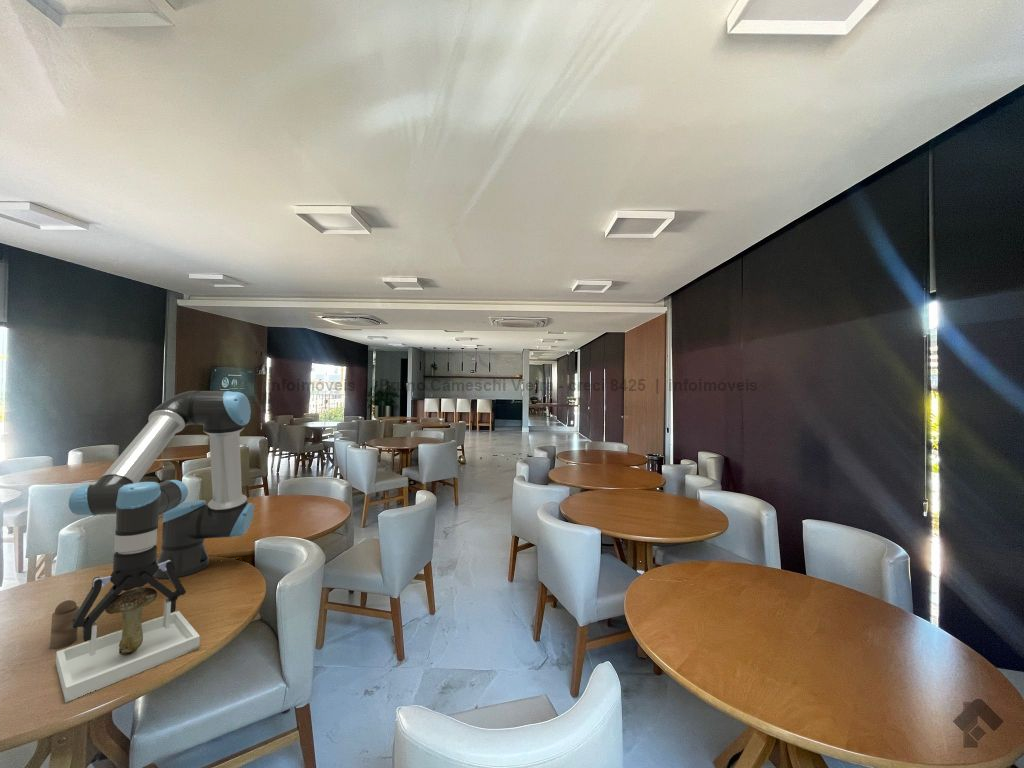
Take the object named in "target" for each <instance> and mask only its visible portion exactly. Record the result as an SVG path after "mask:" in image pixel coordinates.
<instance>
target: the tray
mask: <svg viewBox="0 0 1024 768" xmlns="http://www.w3.org/2000/svg"><path fill="white" fill-rule="evenodd" d="M142 632H143V641H142V644H141V645H140V647H139V648H137V650H136V651H135V652H133V653H132V654H130V655H120V654H119V648H120V647H119V644H120V641H121V639H122V629H120V630H117V631H114V632H111V633H108V634H105V635H101V636H99V637H96V653H95V655H92V656H90V653H89V641H86V642H85V641H84V642H81V643H78V644H75V645H71V646H68V647H66V648H64V649H63V648H62V649H61V650H60V649H59V650H57V651H56V654H55V655H56V656H55V666H56V672H57V676H58V678H59V679H58V680H59V685H60V687H61V692H62V695H63V700H64V703H65V704H67V703H68V702H71V701H73V700H77V699H78V697H79V698H82V697H83V695H84V696H86V695H88V694H87V693H89V694H91V693H93V692H96V691H98V690H100V689H103V688H105V687H109V686H110V685H113V684H115V683H118V682H120V681H123V680H125V679H128V678H130V677H133V676H134V675H136V674H137V675H138V674H139V673H142V672H145V671H147V670H149V669H152V668H154V667H157V666H159V665H162V664H164V663H166V662H169V661H172V660H174V659H176V658H179V657H181V656H184V655H186V654H188V653H191V652H194V651H196V650H198V649H200V645H201V644H200V642H201V641H200V640H201V639H200V638H201V636H200V634H199V633H198V632H197V630H196V629H195V628H194V627H193V626H192V625H191V624H190V622H189V621H188V620H187V619H186V618H185V617H184V616H183V613H182V612H180V610H177V611H176V610H175V612H172V613H170V628H168V629H165V628H164V626H163V615H162V616H159V617H156V618H153V619H150V620H147V621H144V622H142ZM95 690H96V691H95ZM90 692H91V693H90ZM85 694H86V695H85Z"/></svg>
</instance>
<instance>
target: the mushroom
mask: <svg viewBox="0 0 1024 768" xmlns="http://www.w3.org/2000/svg"><path fill="white" fill-rule="evenodd" d="M156 590H157V589H156ZM156 590H155V589H154V588H152V587H137V588H133V589H131V590H128V591H126V590H125V591H123V592H121V593H120V594H119V595H118V596H117V597H116V598H115V599H114V600H113V601H112V602H111V603H110V605H109V606H108V607H107V608H106V609H105V612H106V614H109V615H114V614H115V615H116V614H120V613H121V615H122V622H121V623H122V625H121V630H122V639H121V641H120V644H119V647H120V648H119V654H120V655H130V654H132V653H133V652H135V651H136V650H137V648H139V647H140V645H141V644H142V641H143V632H142V623H143V622H142V614H143V609H144V607H147V606H149V605H151V604H152V603H153V602H154V601H155V600H156V598H157V597H158V592H157V591H156Z"/></svg>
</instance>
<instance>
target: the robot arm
mask: <svg viewBox="0 0 1024 768" xmlns="http://www.w3.org/2000/svg"><path fill="white" fill-rule="evenodd" d="M251 415H252V408H251V403H250V401H249V399H248V397H247V396H246V394H244V393H242V392H239V391H230V390H189V391H184V392H181V393H178V394H176V395H174V396H172V397H169V398H168V399H166V400H165V401H163V402H162V403H161V404H159V405H158V406H157V407H155V408H154V409H153V411H152V412H151V413H150V414H149V415H148V422H146V423H147V424H145V426H144V427H143V428H142V429H141V430H140V432H138V434H137V435H136V436H135V437H134V439H132V441H131V442H130V444H128V445H127V447H125V449H124V450H123V452H122V453H121V454H120V455H119V456H118V457H117V458H116V459H115V460H114V462H113V463H112V464H111V465H110V467H108V469H106V471H105V472H104V473H103V475H102V476H101V477H100V478H99V479H98V480H97V481H96V482H95V483H94V484H89V483H88V484H83V485H81V486H78V487H77V488H75V489H74V490H73V491H72V493H71V494H70V496H69V499H68V508H69V511H70V512H71V513H72V514H74V515H77V516H99V515H100V516H101V515H115V532H114V533H115V535H114V547H113V548H114V549H113V550H114V552H115V553H114V554H113V565H112V567H113V568H112V572H111V574H110V575H108V576H102V577H100V576H95V577H94V578H93V579H92V583H91V584H92V585H91V588H90V590H89V592H88V593H87V595H86V596H85V599H84V601H82V603H81V605H80V606H79V610H78V612H77V613H76V615H75V617H74V618H73V620H72V622H71V623H72V626H73V628H82V639H83V641H84V642H87V641H89V653H90V656H92V655H95V653H96V638H97V633H98V631H97V629H98V625H97V622H96V621H97V620H98V618H99V617H100V616H101V615H102V614H103V613H104V611H106V608H107V607H108V606H109V605H110V603H111V602H112V601H113V600H114V599H115V598H116V597H117V596H118V595H120V594H122V593H123V592H124V591H125V592H126V591H130V590H134V589H138V588H143V587H144V586H145V585H147V584H148V585H150V586H151V587H153V589H154V588H155V589H156V590H157V591H158V592H160V593H161V594H163V595H164V596H165V597H166V598H165V599H163V615H162V616H163V626H164V628H165V629H168V628H170V613H173V612H176V609H177V601H178V599H179V597H181V596H184V595H185V594H186V592H187V591H186V589H185V587H184V585H183V584H182V582H181V581H180V579H179V578H181V577H185V576H189V575H192V574H196V573H198V572H200V571H202V570H204V569H206V568H207V567H208V566H209V564H210V557H209V554H208V551H207V549H206V546H205V543H204V542H205V539H221V538H223V539H224V538H229V539H231V538H236V537H241V536H243V535H246V533H247V532H248V530H249V528H250V526H251V524H252V522H253V518H254V513H255V504H254V503H253V502H248V497H247V496H246V495H245V494H243V490H242V489H243V488H242V487H243V486H242V483H243V482H242V465H241V462H242V460H241V442H240V441H241V438H240V437H241V436H240V435H241V434H240V433H241V432H242V431H243V430H245V426H246V425H248V423H249V422H250V420H251ZM190 425H196V426H197V425H199V426H200V425H202V428H203V429H202V430H203V433H205V434H206V435H208V436H209V454H210V472H211V488H212V490H211V491H212V499H211V500H209V501H208V503H207V501H206V500H205V499H204V500H203V499H197V500H191V501H190V500H189V501H185V500H186V499H187V498H188V494H189V490H188V487H187V485H186V484H185V483H184V482H183V481H180V480H178V479H171V480H164V481H162V482H157V481H141V480H142V478H143V477H144V476H145V475H146V474H147V471H148V470H149V469H150V468H151V466H152V465H153V464H154V463H155V462H156V460H157V458H158V457H159V456H160V455H161V454H162V452H163V451H164V450H165V447H167V445H168V444H169V443H170V442H171V440H172V439H173V437H174V436H175V435H176V434H177V433H180V432H182V431H183V430H184V429H185V428H186V427H187V426H190ZM162 514H163V516H162V521H161V526H162V528H161V547H160V548H161V549H160V553H159V555H158V558H157V554H158V553H157V552H158V546H157V544H158V531H159V516H160V515H162ZM157 579H169V580H170V581H171V584H172V585H173V586H174V589H175V590H174V591H173V590H171V589H170V588H168V587H167V586H166V585H164V584H163V583H161V582H160V581H159V580H157ZM110 582H111V584H113V585H112V587H111V588H110V589H109V590H108V592H107V593H106V594H105V596H104V597H102V599H101V600H100V601H99V602H98V603H97V605H95V607H94V608H93V609H92V610H90V609H91V608H92V606H93V605H94V604H95V602H96V600H97V598H98V596H99V594H100V593H101V590H102V589H103V588H105V586H107V584H108V583H110ZM89 611H90V613H89ZM88 613H89V614H88Z"/></svg>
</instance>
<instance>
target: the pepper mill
mask: <svg viewBox="0 0 1024 768" xmlns="http://www.w3.org/2000/svg"><path fill="white" fill-rule="evenodd" d="M79 608H80V606H77V603H76V601H74V600H71V599H69V600H64V601H62V602H60V603H59V604H58V605H57V606H56V607H55V609H54V611H53V612H52V615H51V625H50V626H51V629H50V644H49V645H50V646H49V649H50V650H57V649H59V650H60V649H63V648H65V647H66V648H67V647H70V645H71V646H72V645H73V644H75V643H76V642H77V641H78V628H79V627H78V628H73V626H72V623H71V622H72V620H73V618H74V617H75V615H76V613H77V612H78V610H79Z"/></svg>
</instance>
